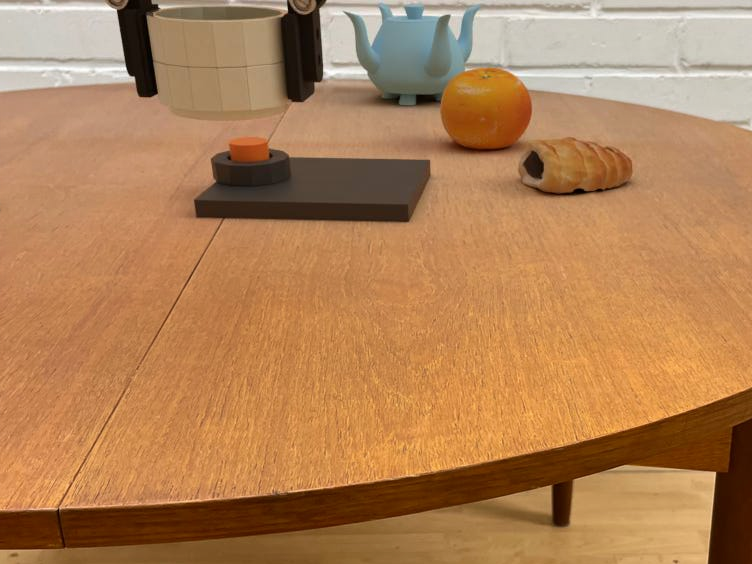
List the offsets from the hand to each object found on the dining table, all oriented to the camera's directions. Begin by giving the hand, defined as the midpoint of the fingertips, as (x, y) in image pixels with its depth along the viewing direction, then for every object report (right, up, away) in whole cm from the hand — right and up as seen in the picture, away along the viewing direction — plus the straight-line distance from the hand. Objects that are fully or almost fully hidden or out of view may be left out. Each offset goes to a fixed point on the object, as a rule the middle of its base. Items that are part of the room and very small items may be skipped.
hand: (228, 92), depth 49 cm
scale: (0, +3, +28) cm, 28 cm away
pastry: (+20, +5, +31) cm, 38 cm away
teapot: (+5, +26, +66) cm, 71 cm away
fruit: (+14, +12, +44) cm, 47 cm away
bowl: (0, -1, 0) cm, 1 cm away
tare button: (-5, +5, +27) cm, 28 cm away
